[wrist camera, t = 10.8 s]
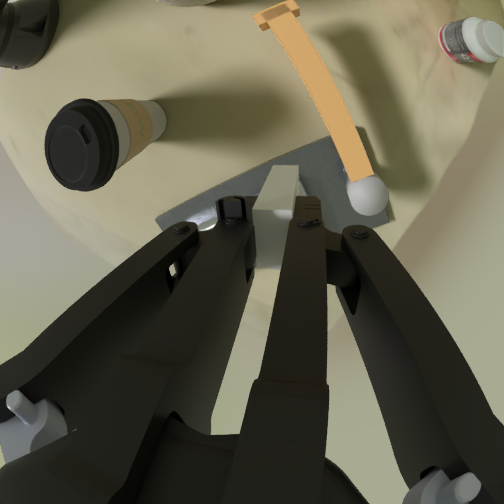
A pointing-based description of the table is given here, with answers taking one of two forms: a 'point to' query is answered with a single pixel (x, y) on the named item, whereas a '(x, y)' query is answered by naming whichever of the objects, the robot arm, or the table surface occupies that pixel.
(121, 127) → the coffee cup
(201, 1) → the planter
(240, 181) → the grey switch panel
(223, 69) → the table surface
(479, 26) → the pill bottle
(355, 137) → the swing arm
